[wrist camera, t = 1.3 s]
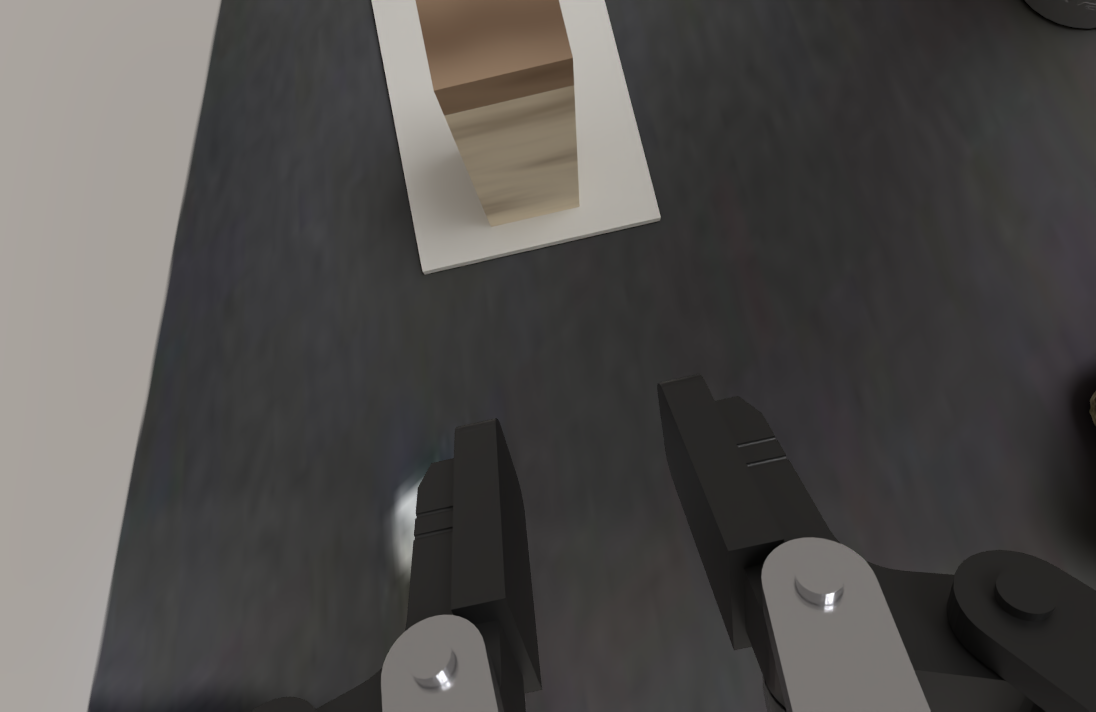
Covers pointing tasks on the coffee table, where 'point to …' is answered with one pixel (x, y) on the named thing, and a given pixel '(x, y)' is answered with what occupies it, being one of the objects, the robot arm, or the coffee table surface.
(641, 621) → the coffee table surface
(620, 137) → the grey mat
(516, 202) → the maple block
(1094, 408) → the weathered driftwood
